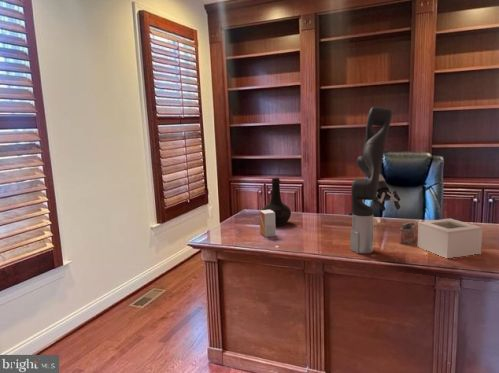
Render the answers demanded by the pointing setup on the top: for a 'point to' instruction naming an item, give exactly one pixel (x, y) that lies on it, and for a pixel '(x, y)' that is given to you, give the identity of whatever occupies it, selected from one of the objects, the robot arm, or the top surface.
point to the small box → (267, 223)
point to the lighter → (407, 234)
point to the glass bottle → (278, 204)
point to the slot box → (450, 238)
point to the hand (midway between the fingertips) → (391, 209)
